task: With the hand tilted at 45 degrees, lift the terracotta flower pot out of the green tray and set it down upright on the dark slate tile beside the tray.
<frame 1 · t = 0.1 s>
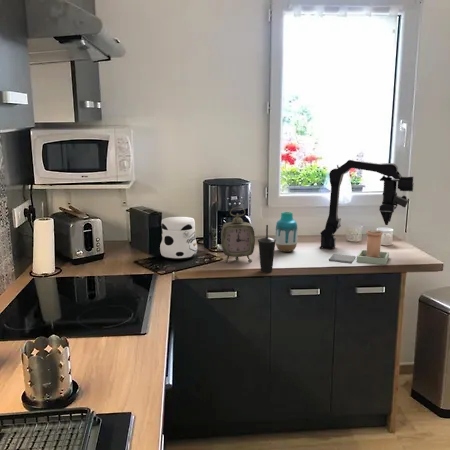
hand: (387, 223, 240), 15 cm above the worktop, tool pointing down, fingers open, 9 cm apart
vase: (286, 251, 248), on the worktop
slate tile: (342, 259, 233), on the worktop
drinking cup: (266, 271, 215), on the worktop
tabletop clock: (237, 261, 230), on the worktop
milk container: (179, 257, 238), on the worktop
green tray: (372, 259, 232), on the worktop
terracotta pot: (373, 245, 231), in the green tray
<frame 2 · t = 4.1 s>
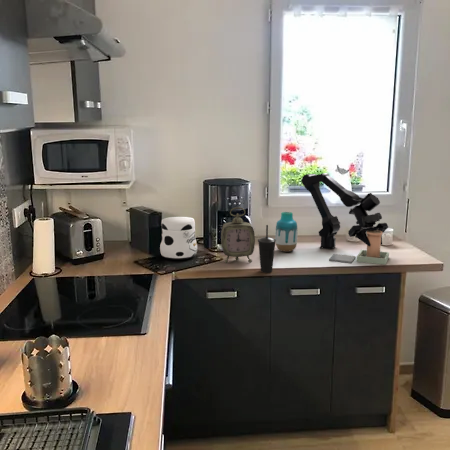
hand: (375, 245, 230), 7 cm above the worktop, tool tilted 45°, fingers closed on terracotta pot, 6 cm apart
terracotta pot: (373, 245, 231), in the green tray, touching gripper
everything else where it was.
when the fingers open (9 cm above the worktop, at t = 8.5 s): terracotta pot moves 1 cm, resting on slate tile.
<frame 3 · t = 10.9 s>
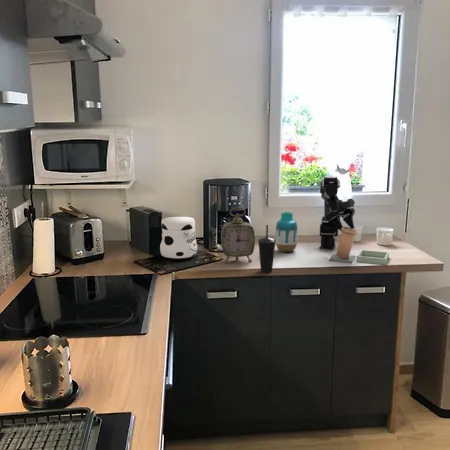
hand: (348, 230, 237), 12 cm above the worktop, tool tilted 35°, fingers open, 9 cm apart
terracotta pot: (345, 242, 231), on the slate tile, point 8 cm above the worktop, tilted 12°
everything else where it was.
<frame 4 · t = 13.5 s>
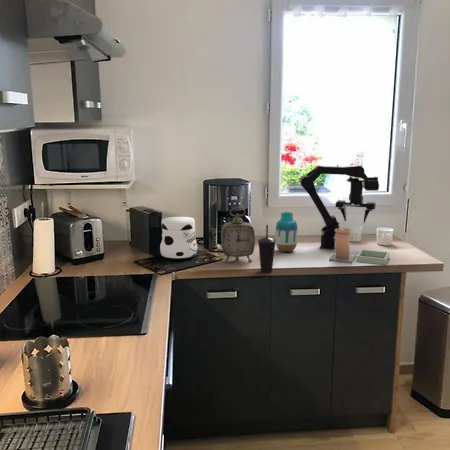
hand: (354, 222, 251), 13 cm above the worktop, tool pointing down, fingers open, 9 cm apart
terracotta pot: (342, 243, 232), on the slate tile, point 7 cm above the worktop
everything else where it was.
at the end: terracotta pot 0.3 cm off-centre on the slate tile, point 7.4 cm above the slate tile's base; terracotta pot tilted 1°; the gripper is holding nothing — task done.
